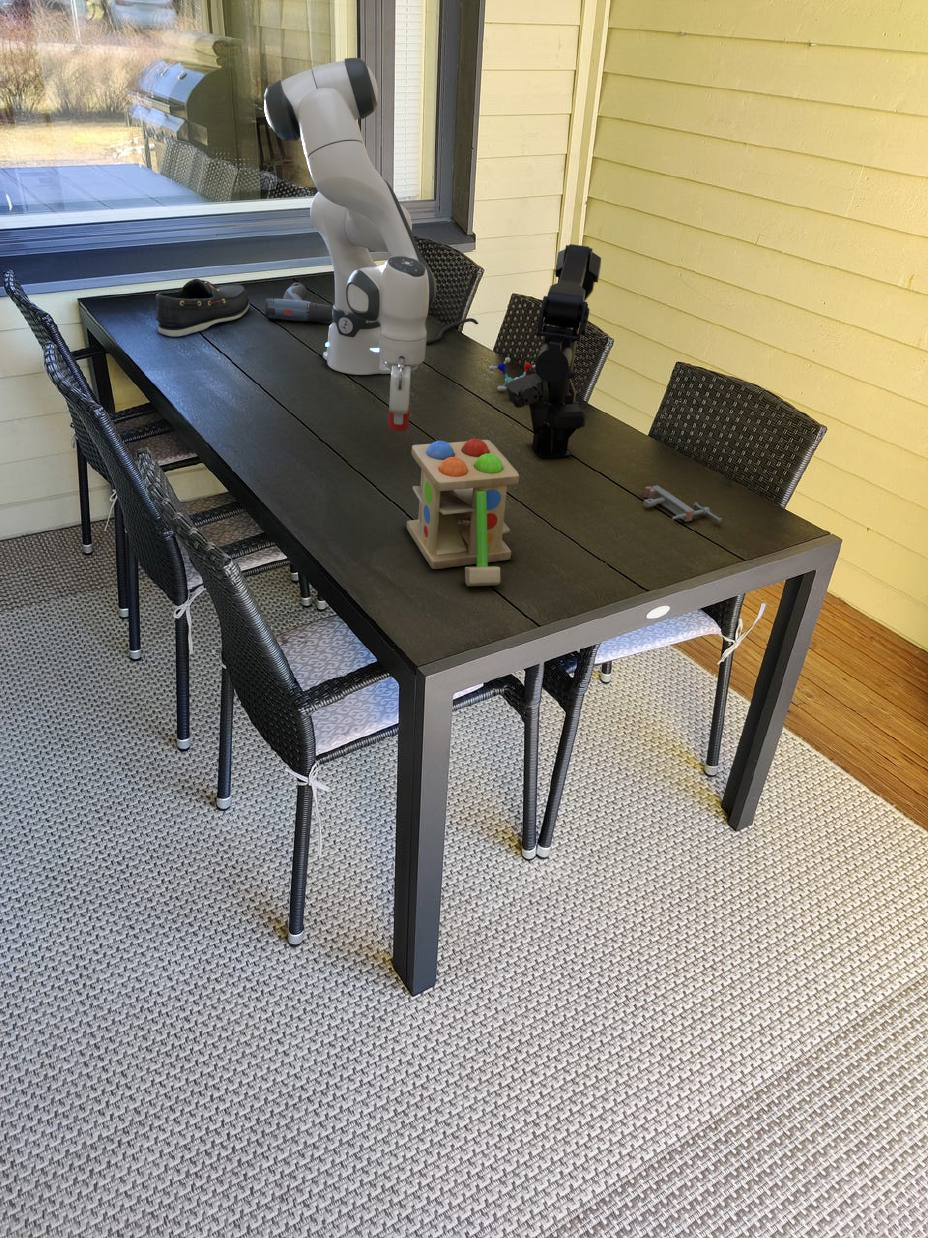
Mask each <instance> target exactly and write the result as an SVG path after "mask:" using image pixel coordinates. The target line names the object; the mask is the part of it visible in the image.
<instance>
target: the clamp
mask: <svg viewBox="0 0 928 1238" xmlns="http://www.w3.org/2000/svg"><path fill="white" fill-rule="evenodd" d="M643 498H647V499H644V500H643V506H644V507H646V508H651V507H656V505H659V504H660V505H662V507H664V508H665V509H668V511H670V512H671V513H673V514H674V516H672V517H671V520H673V521H674V520H680V519H681V520H683V521H684V522H691V521H693V516H697V515H702V516H704V515H709V516H710V517H712V518H713V519H715V520H716V521H717V523H719V524H721V523H722V522H723V518H722V517H719V516H717V515H715V514H714V513H712V512H711V508H710V507H708V506H705V507H703V506H701V505H699V503H698V502H697V501H695V502H694V503H693V507H694V508H698V510H695V509H693V508H692V507H691V506H689V505H687V504H686V503H685V502H683V501H682V500H680V499H679V498H677V497H676V496H674V495H673V494H671V493H670V492H669V491H667V490H666V489H664V488H663V487H660V486H659V485H657V484H656V485H653V486H650V485H649V486H645V487H644V492H643Z"/></svg>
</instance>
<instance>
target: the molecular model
mask: <svg viewBox="0 0 928 1238" xmlns="http://www.w3.org/2000/svg"><path fill="white" fill-rule="evenodd" d="M510 362H511V358H510V357H508V356H507V357H505V359H504V362H500V363H499V364H498V365H496V366H495V365H493V364H492V365H490V366H489V371H491V372H493V371H494V370H498V371H500V372H502V374H503V375H504V377H505V379H504V384H503V385H499V386H497V389H496V390H497V391H498V392H504V391H505V390H507V387H506V384H507V383H509V382H511V381H513V380H516V379H518V378H521V377H523V376H527V373H528V370H530V369H534V367H535V364H531V363H529V362H525V363H524V364H523V368H524V371H523V374H522V375H520V376H519V377H518V376H517V377H515V378H513V377H510V376H508V373H507V371H506V365H507V364H509V363H510Z"/></svg>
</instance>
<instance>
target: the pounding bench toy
mask: <svg viewBox="0 0 928 1238" xmlns="http://www.w3.org/2000/svg"><path fill="white" fill-rule="evenodd" d="M411 456H412V458H413V459H414V460H415V462H416V464H417V465H418V467H419V468H420V469H421V471H420V472H421V474H420V485H418V486H417V485H413V486H412V490H413V492H414V495H416V497H417V499H418V500H419V501H418V502H419V504H418V506H419V507H418V519H412V520H407V521H406V529H407V531H408V533H409V535H410V536H411V538H412V540H413V541H414V543H415V544H416V546H417V547H418V549H419V551H420V552H421V554H422V555H423V557H424V559H425V560H426V561H427V563H428V565H429V567H430V569H433V570H439V569H440V570H441V569H448V568H453V567H454V568H455V567H456V568H457V567H462V566H463V567H464V566H465V567H464V583H465V585H466V586H467V587H486V586H488V587H489V586H491V587H492V586H499V585H500V584H501V567H499V566H497V565H489V563H491V562H492V563H493V562H500V561H507V560H511V556H512V550H511V549H510V548H509V546H508V545H507V544H506V542H505V541H504V540H503V534H507V533H510V532H511V529H510V528H509V526H508V525H507V524H506V522H505V512H506V511H505V509H506V502H507V501H506V500H507V491H508V490H507V488H508V486H512V485H517V484H519V482H520V481H519V480H520V474H519V473H518V471H517V470H516V469H515V467H513V465H512V464H511V463H510V462H509V460H508V459H507V458H506V457H505V456H504V455H503V454H502V453H501V451H500V450H499V449H498V448H497V447H496V446H495V444H494V443H493V442H492V441H491V440H489V439H480V438H471V439H469V440H464V441H455V442H453V441H452V442H447V441H444V440H436V441H433V442H432V443H424V444H423V443H422V444H413V445H412V446H411ZM469 565H476V566H469Z"/></svg>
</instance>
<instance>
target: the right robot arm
mask: <svg viewBox="0 0 928 1238" xmlns="http://www.w3.org/2000/svg"><path fill="white" fill-rule="evenodd" d="M593 249H594V248H593V247H590V246H588V245H581V244H572V243H570V244H566V245H565V248H564V249H562V250H560V251H558V252H557V258H556V263H555V268H554V275H555V277H556V278H557V283H554V284H551V285H550V287H549V288H548V292H547V294H546V295H544V296H543V298H542V302H541V308H540V311H539V318H538V323H537V329H536V336H537V337H543V341H542V346H541V348H540V350H539V353H538V354H537V358H536V359H535V363H534V365H535V367H534V368H533V373H532V374H528V375H526V376H523V377H521V378H519V377H518V379H516V380H513V381H511V382H509V383H507V384H506V387H507V389H506V390H507V395H508V399H509V402H511V403H512V404H513V406H514V407H515V408H517V409H521V408H524V407H525V406H526V407H527V406H528V408H529V412H530V420H531V426H532V433H533V435H532V436H533V438H532V442H531V444H530V446H531V448H532V449H533V450H534V451H535V453H536V454H537V455H538V456H539V458H541V459H557V458H558V459H559V458H570V456H571V454H570V452H569V451H568V447H569V442H570V441H569V440H570V438H571V436H572V435H573V434H574V432H576V431H577V430H579V429H581V428H584V427H585V425H586V419H587V415H586V414H585V413H584V412H583V410H581V408H580V407H579V405H578V403H579V402H578V401H576V397H577V396H576V395H577V392H576V389H575V386H574V384H573V381H572V380H574V379H575V378H576V372H575V371H574V370H573V369H574V361H575V355H576V349H577V345H578V343H579V342H581V340H582V336H586V331H587V327H588V321H589V316H590V311H591V310H590V307H589V303H588V301H587V300H588V299H589V297H590V296H591V294H592V293H593V292H594V289H595V284H596V283H599V279H600V274H601V268H602V266H601V265H602V258H601V256H599V255H598V254H596V253H595V252H593ZM543 324H544V325H543ZM577 342H578V343H577Z"/></svg>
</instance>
